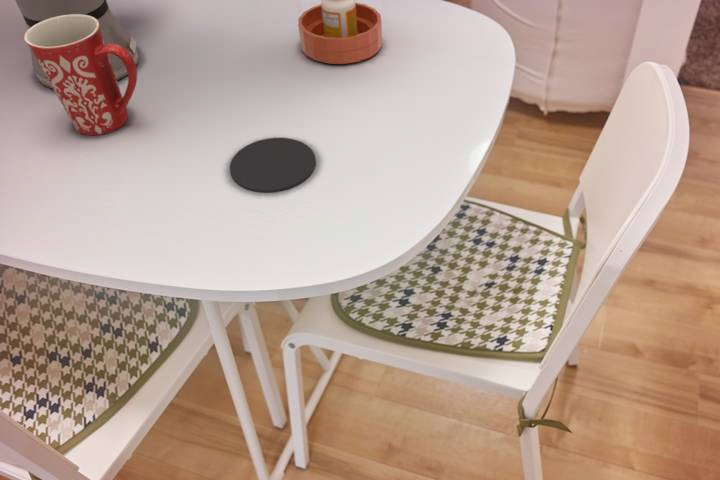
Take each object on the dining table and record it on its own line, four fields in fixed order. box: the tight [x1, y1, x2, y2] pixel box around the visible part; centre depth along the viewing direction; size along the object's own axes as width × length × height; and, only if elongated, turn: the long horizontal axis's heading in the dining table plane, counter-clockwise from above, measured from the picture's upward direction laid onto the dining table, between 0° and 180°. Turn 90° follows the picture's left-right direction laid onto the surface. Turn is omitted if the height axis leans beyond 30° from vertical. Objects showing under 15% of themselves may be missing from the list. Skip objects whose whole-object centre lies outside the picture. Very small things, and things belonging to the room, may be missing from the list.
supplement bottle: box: [320, 0, 358, 38], centre depth 97 cm, size 5×5×10 cm
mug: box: [23, 14, 138, 136], centre depth 81 cm, size 13×9×14 cm
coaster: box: [229, 137, 317, 193], centre depth 79 cm, size 11×11×1 cm
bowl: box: [297, 2, 383, 65], centre depth 99 cm, size 13×13×4 cm
